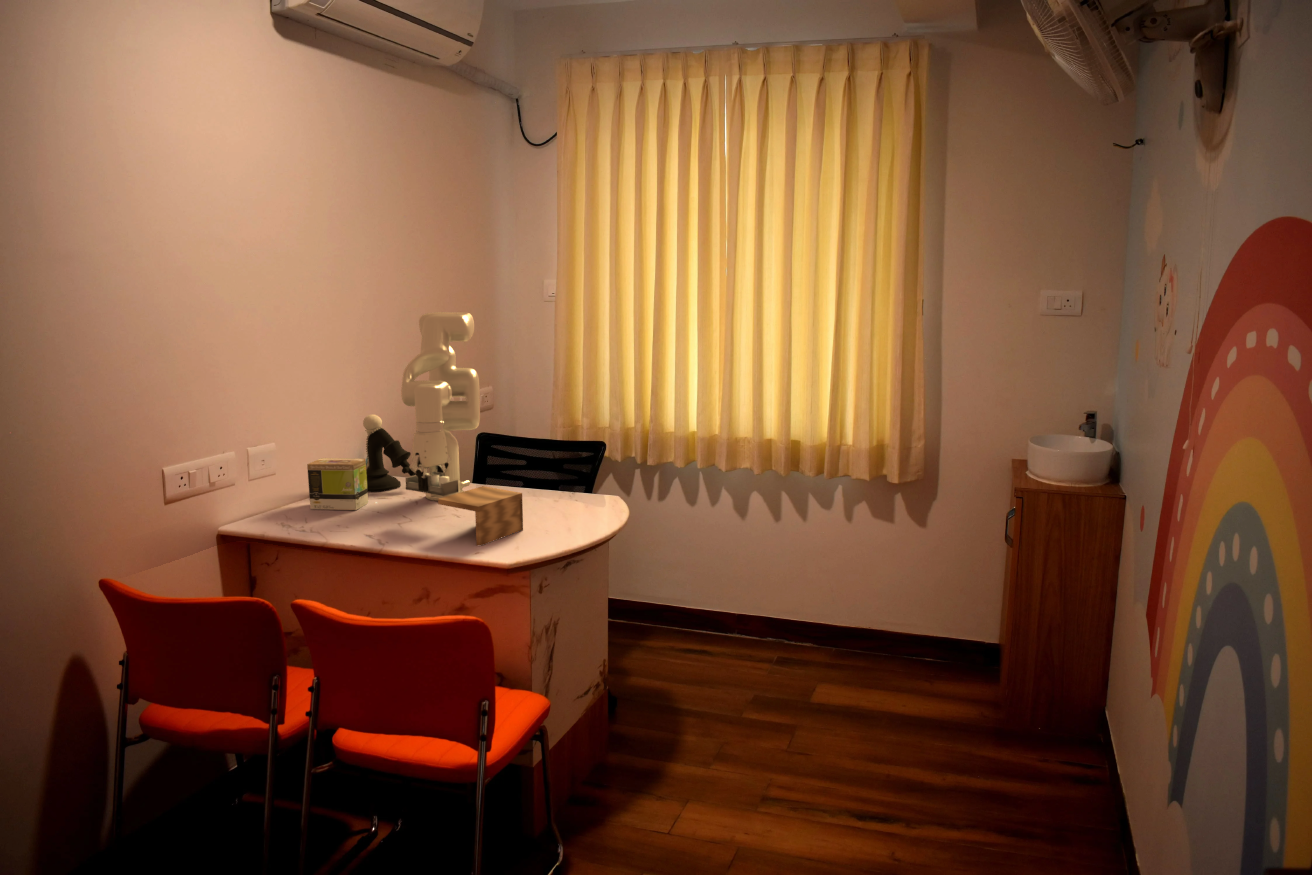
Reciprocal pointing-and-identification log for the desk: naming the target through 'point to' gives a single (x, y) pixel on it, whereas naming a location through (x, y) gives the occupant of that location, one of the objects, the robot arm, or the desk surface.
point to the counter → (490, 511)
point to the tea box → (337, 483)
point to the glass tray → (434, 489)
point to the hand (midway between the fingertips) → (431, 487)
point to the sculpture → (392, 449)
